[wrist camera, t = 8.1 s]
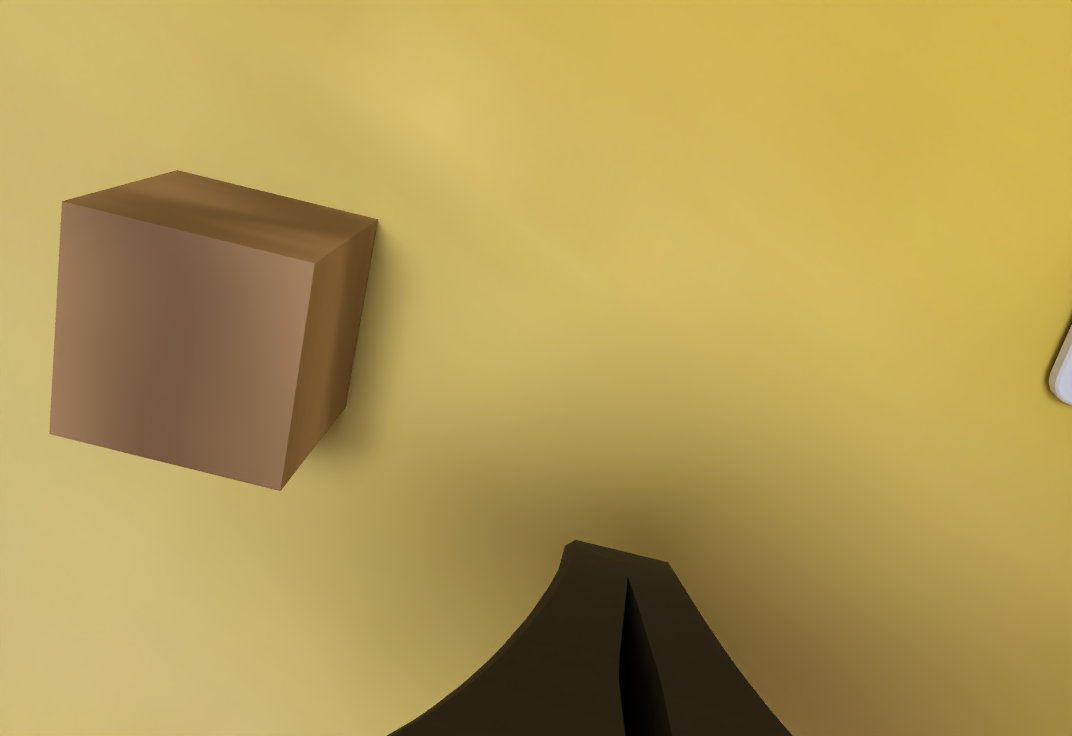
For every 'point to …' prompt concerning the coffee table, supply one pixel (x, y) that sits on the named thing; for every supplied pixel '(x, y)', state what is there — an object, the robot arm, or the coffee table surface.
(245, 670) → the coffee table surface
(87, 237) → the walnut block
